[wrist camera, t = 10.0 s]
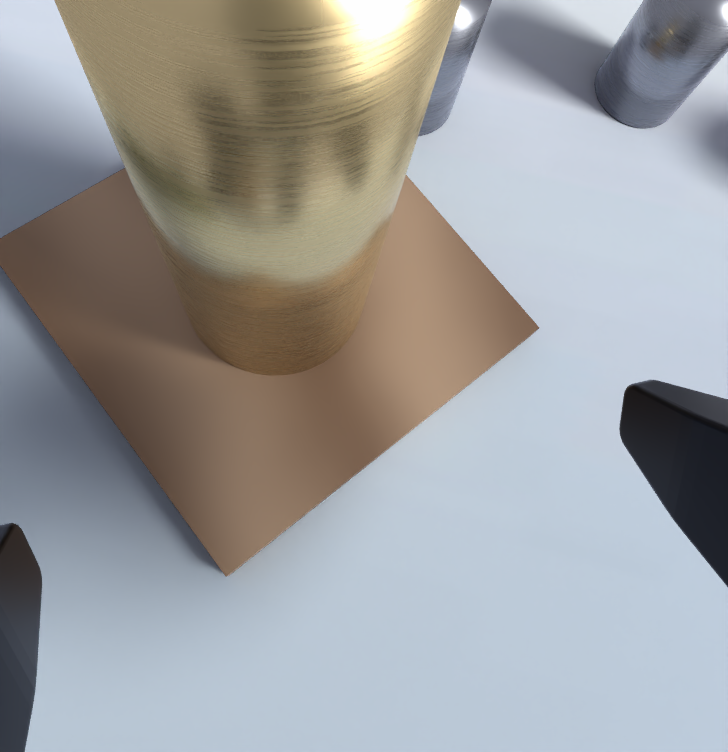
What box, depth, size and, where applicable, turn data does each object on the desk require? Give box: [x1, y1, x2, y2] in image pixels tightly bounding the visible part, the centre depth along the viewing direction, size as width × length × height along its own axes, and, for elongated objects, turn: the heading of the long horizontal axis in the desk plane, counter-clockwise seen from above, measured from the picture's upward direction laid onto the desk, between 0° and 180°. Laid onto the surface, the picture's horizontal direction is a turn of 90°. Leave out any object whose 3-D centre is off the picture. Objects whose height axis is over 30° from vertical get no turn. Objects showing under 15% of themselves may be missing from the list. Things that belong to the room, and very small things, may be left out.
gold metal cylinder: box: [55, 0, 461, 375], centre depth 12 cm, size 5×5×12 cm
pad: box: [0, 168, 539, 576], centre depth 18 cm, size 11×11×1 cm
